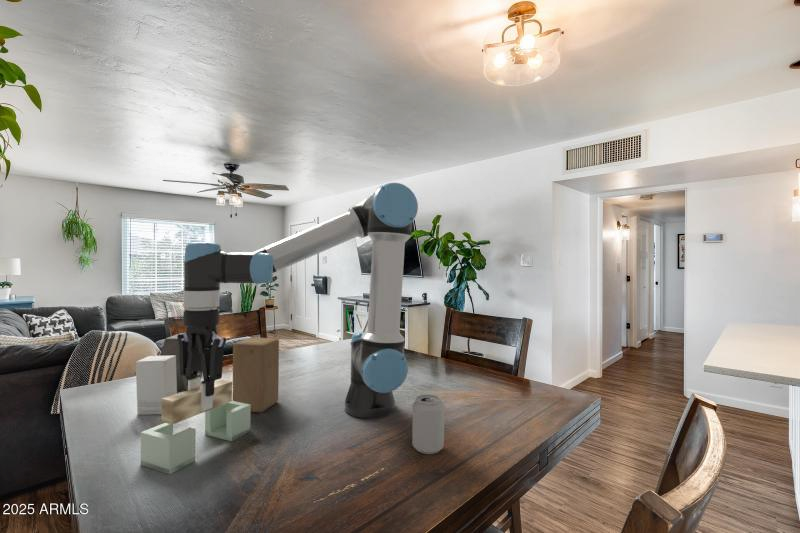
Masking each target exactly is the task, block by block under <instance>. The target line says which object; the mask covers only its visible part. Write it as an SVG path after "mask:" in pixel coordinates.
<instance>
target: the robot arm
mask: <svg viewBox="0 0 800 533" xmlns="http://www.w3.org/2000/svg"><path fill="white" fill-rule="evenodd" d="M418 211H419V204H418V200H417V197H416V195H415V193H414V192H413V191H412V190H411V188H409V187H408V186H407V185H405V184H403V183H399V182H389V183H386V184H383V185H381V186H379V187H377V189H376V190H375V191H374V192H373V193H372V194H370V195H369V196H367V197H366V198H365V199H364V200H363V201H361V202H359V203H358V204H355V205H353V206H350V207H348V209H347V211H346V212H345V213H343V214H340V215H338V216H336V217H334V218H331V219H329V220H326V221H324V222H321V223H320V224H316V225H315V226H312V227H310V228H307V229H305V230H303V231H300V232H297V233H295V234H293V235H290V236H288V237H286V238H283V239H281V240H279V241H277V242H274V243H271V244H269V245H267V246H265V247H262V248H260V249H257V250H255V251H253V252H249V251H247V252H245V251H242V252H240V251H237V252H236V251H232V252H231V251H222V248H221V245H220V244H219V243H217V242H197V241H195V242H189V243H187V244H186V246H185V250H184V261H183V272H184V273H183V276H184V278H183V280H184V281H183V301H182V302H183V305H182V306H183V307H184V308H185V309H184V311H183V316H182V318H183V319H182V320H183V324H182V325H183V326H184V327H186V330H185V332H182V333H183V334H180V333H177V334H178V335H177V334H176V335H177V338H178V342H179V355H180V375H181V376H183V375H184V376H185V378H186V379H187V391H188V390H191V389H194V388H197V387H200V386H201V406H200V411H202V412H203V411H205V410H208V409H210V408H213V395H214V382H216V381H219V380H222V378H223V365H224V350H225V346H226V343H227V338H226V337H224V336H223V337H221V336H220V335H218V331H217V325H218V324H219V323H220V309H219V306H220V294H221V293H220V292H221V291H220V290H221V287H220V286H221V284H256V285H259V284H269V283H271V282H272V281H273V276H274V275H273V274H275V273H277V272H279V271H281V270H283V269H286V268H287V267H291V266H293V265H295V264H297V263H299V262H302V261H304V260H307V259H309V258H312V257H313V256H316V255H318V254H320V253H323V252H325V251H327V250H330V249H332V248H334V247H337V246H340V245H341V244H343V243H346V242H348V241H351V240H353V239H356V238H357V237H358V238H361V239H364V238H366V237H369V238H370V240H371V241H372V247H371V248H372V249H371V250H372V251H371V264H370V265H371V266H370V267H371V268H370V280H369V281H370V282H369V299H368V301H369V302H368V314H367V315H368V316H367V329H366V331H364V332H363V331H362V332H355V333H353V334H352V336H351V340H350V341H351V342H350V350H351V351H350V384H349V388H348V391H347V393H346V396H345V399H344V411H345V413H346V414H348V415H349V416H352V417H356V418H361V419H362V418H363V419H375V418H377V419H378V418H381V417H385V416H389V415H390V414H392V413H394V412H395V409H396V400H395V396H394V393H393V392H394V391H396V390H397V389H399V388H400V387H401V386H402V385H403V384H404V382H405V381H406V380H407V378H408V374H409V364H408V361H407V358H406V356H405V341H406V340H405V339H406V338H405V337H404V336H403V335H402V334H401V332H400V330H401V328H400V326H401V314H402V313H401V312H402V296H403V294H402V293H403V282H404V281H403V280H404V278H403V277H404V265H405V264H404V263H405V262H404V261H405V247H406V246H405V244H406V242H408V241H409V239H410V238H411V237H412V223H413V221H414V220H415V219H416V217H417V214H418ZM217 307H218V308H217ZM200 357H201V360H202V370H203V373H202V377H203V378H202V379H203V380H201V381H200V378H199V377H198V376H200V374H199V373H198V370H199V363H200ZM185 369H186V370H185ZM196 377H198V378H196ZM203 413H204V412H203Z"/></svg>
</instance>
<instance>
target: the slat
mask: <svg viewBox="0 0 800 533" xmlns="http://www.w3.org/2000/svg"><path fill="white" fill-rule="evenodd" d="M232 401H233V380H232V381H231V380H225V379H218V380H215V382H214V395H213V408H210V409H208V410H211V409H214V408H216V407H219V406H221V405H224V404H226V403H229V402H232ZM200 406H201V385H200V387H197V388H194V389H191V390H188V391H182V392H181V391H180V392H179V393H178V392H177V394H175V395H172V396H168V397H165V398H162V409H161V414H160V415H161V416H160V421H161V423H168V424H173V425H174V424H178V423H180V422H183V421H186V420H187V419H190V418H192V417H193V418H194V417H195V416H198V415H200V414H203V413H205V412H206V411H208V410H205V411H203V412H202V411H200Z"/></svg>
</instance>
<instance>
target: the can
mask: <svg viewBox="0 0 800 533" xmlns="http://www.w3.org/2000/svg"><path fill="white" fill-rule="evenodd" d="M442 401H443V398H442V397H440V396H439V395H436V394H431V393H430V394H427V393H423V394H420V395H417V396H416V397H415V401H414V402H413V404H412V436H411V438H412V442H411V443H412V447H413V448H414V449H415V450H416V451H417V452H418V453H421V454H424V455H434V454H437V453H439V452H440V451H441V450H442V449H444V445H445V403H444V402H442Z"/></svg>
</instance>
